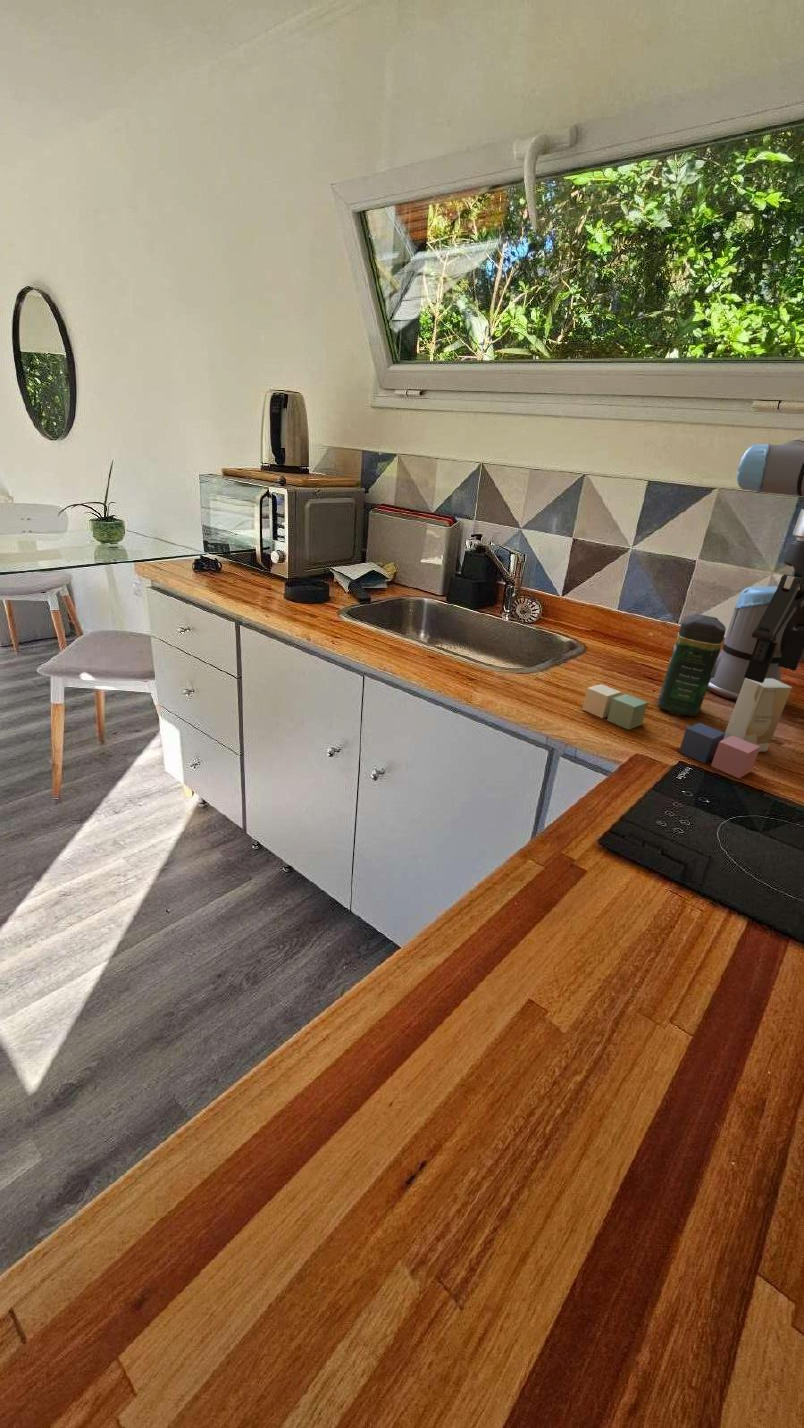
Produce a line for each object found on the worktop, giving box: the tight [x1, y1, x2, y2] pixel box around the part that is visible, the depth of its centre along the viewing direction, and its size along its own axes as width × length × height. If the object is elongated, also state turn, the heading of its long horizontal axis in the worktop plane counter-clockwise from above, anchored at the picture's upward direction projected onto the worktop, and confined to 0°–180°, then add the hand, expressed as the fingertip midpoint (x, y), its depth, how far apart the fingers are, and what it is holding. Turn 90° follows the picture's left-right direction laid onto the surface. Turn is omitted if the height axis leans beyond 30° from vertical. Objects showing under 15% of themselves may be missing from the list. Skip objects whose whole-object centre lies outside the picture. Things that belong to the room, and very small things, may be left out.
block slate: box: [678, 722, 725, 764], centre depth 99 cm, size 4×4×4 cm
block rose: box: [710, 736, 760, 779], centre depth 95 cm, size 4×4×4 cm
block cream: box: [581, 683, 622, 719], centre depth 112 cm, size 4×4×4 cm
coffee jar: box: [657, 613, 727, 717], centre depth 115 cm, size 10×8×19 cm
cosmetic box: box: [723, 678, 793, 753], centre depth 102 cm, size 6×4×12 cm
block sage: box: [606, 693, 649, 731], centre depth 108 cm, size 4×4×4 cm
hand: (770, 674), depth 98 cm, fingers open, 13 cm apart
